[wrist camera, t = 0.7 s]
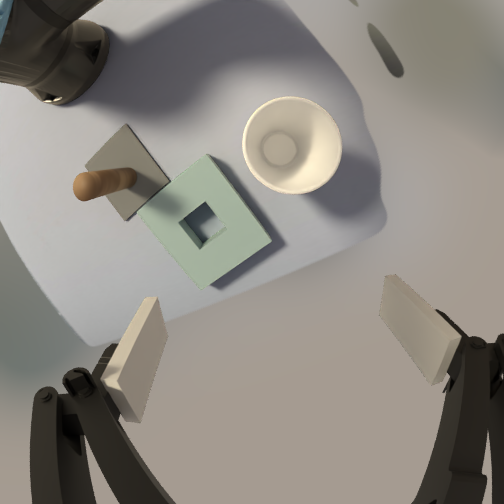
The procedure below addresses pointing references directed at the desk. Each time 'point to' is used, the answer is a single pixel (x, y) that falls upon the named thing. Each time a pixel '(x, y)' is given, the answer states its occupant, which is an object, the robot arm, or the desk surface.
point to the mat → (136, 157)
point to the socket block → (182, 236)
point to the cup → (292, 145)
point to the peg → (103, 182)
